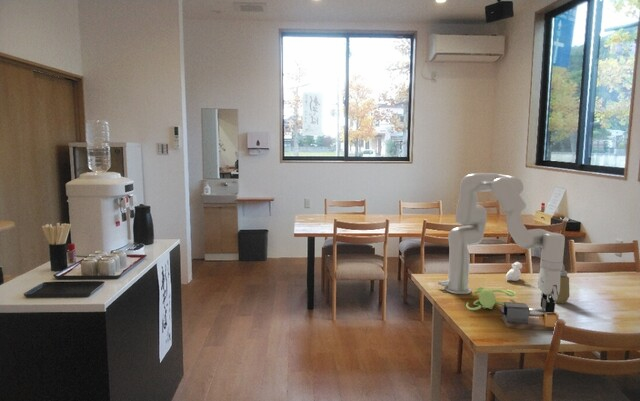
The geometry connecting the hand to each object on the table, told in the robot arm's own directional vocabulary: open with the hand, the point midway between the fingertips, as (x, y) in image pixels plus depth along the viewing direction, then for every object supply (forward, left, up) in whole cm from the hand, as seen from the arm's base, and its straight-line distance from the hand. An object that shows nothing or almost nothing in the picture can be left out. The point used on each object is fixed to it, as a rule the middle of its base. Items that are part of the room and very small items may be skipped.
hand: (547, 309), depth 166 cm
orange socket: (+1, 0, -6) cm, 6 cm away
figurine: (-16, +21, -8) cm, 28 cm away
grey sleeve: (-12, 0, -6) cm, 13 cm away
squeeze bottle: (+16, +30, -7) cm, 35 cm away
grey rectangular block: (-4, 0, -3) cm, 5 cm away
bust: (+5, +60, -7) cm, 61 cm away
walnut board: (-6, 0, -7) cm, 9 cm away
